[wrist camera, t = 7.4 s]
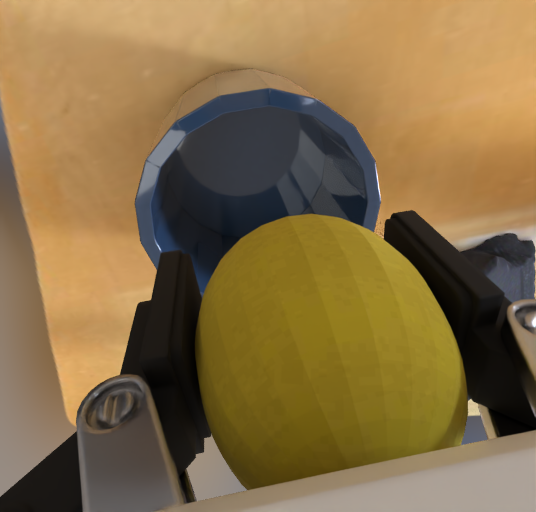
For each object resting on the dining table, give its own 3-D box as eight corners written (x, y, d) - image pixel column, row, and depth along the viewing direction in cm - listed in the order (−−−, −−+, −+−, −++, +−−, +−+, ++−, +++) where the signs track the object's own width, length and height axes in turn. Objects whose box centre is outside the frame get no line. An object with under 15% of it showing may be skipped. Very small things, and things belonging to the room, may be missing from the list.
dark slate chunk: (419, 399, 49) (437, 433, 45) (380, 283, 37) (402, 314, 33) (532, 356, 47) (562, 387, 43) (530, 219, 35) (571, 244, 31)
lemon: (206, 324, 13) (206, 640, 6) (189, 173, 10) (157, 469, 3) (355, 310, 14) (498, 584, 7) (381, 166, 11) (670, 399, 4)
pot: (130, 85, 25) (94, 114, 17) (331, 55, 25) (388, 69, 17) (181, 254, 32) (172, 331, 24) (335, 227, 33) (376, 292, 25)
